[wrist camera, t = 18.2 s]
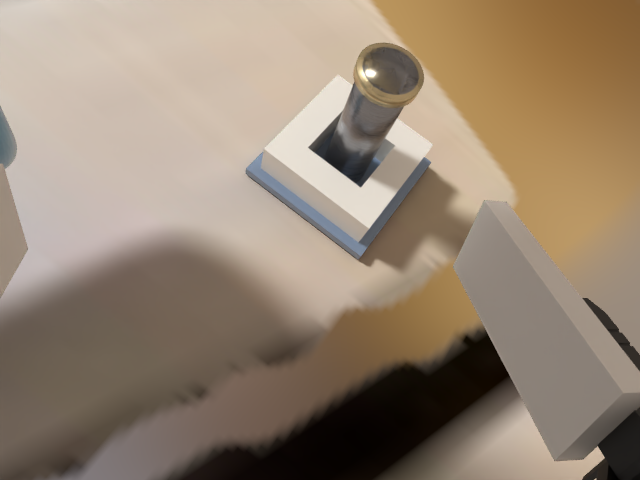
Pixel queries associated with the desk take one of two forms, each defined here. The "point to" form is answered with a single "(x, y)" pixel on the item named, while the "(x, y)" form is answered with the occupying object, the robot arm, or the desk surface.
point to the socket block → (331, 185)
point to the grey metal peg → (373, 106)
